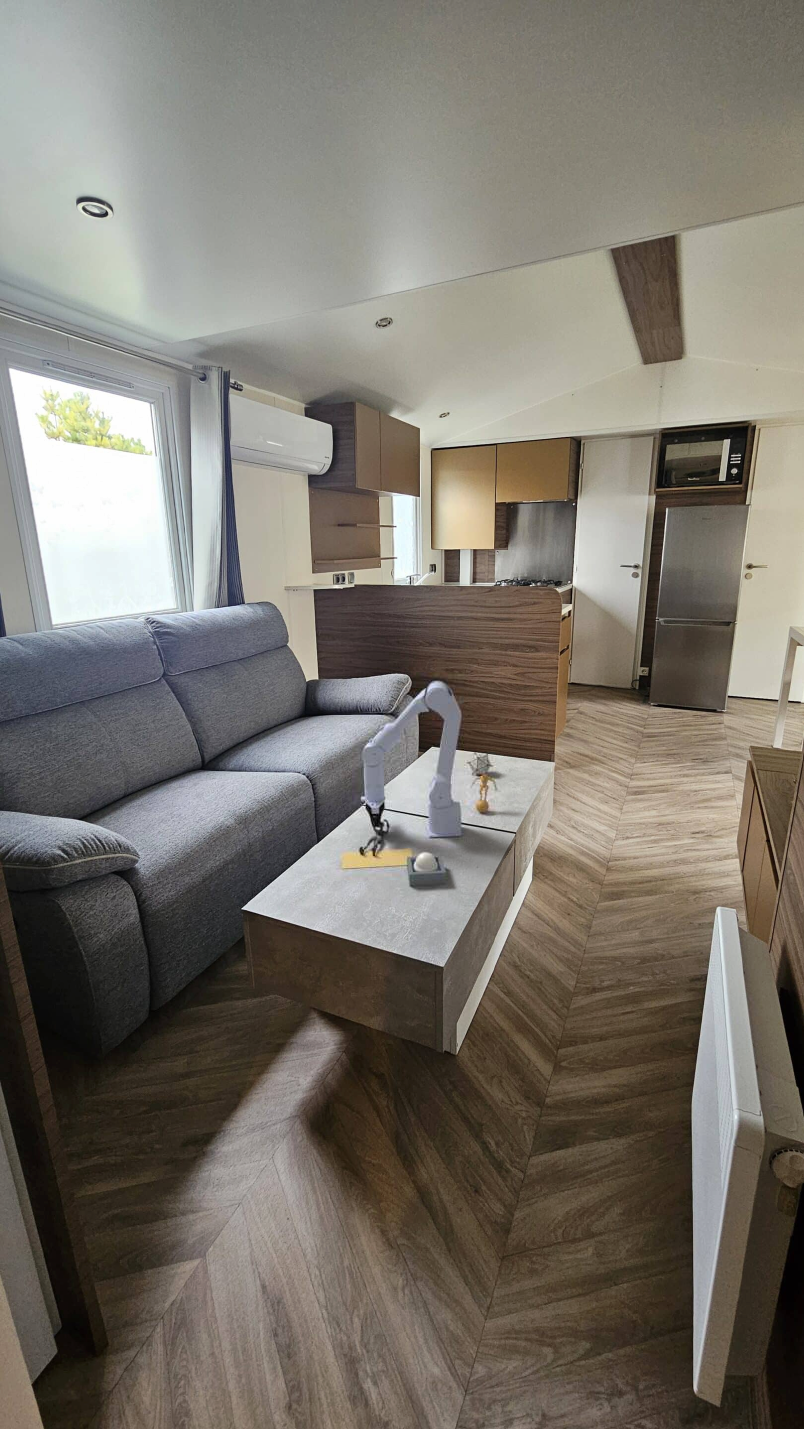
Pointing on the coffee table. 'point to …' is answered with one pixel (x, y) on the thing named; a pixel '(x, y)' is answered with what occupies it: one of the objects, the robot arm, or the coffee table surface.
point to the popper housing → (426, 873)
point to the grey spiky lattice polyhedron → (480, 764)
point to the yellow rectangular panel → (376, 858)
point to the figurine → (483, 804)
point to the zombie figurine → (378, 836)
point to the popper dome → (425, 863)
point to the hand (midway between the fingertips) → (376, 826)
